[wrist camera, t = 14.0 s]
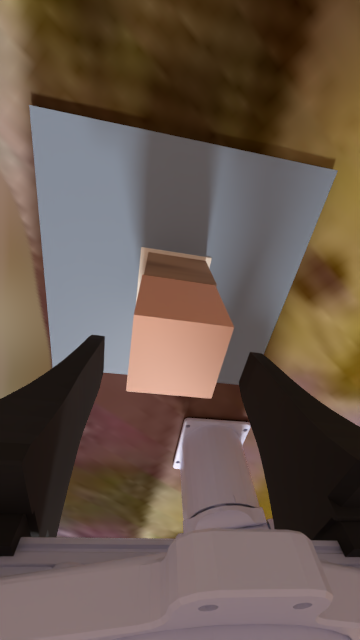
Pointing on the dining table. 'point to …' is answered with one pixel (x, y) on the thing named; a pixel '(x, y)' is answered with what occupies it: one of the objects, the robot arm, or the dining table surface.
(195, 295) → the terracotta block
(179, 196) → the board
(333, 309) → the dining table surface
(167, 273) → the walnut block
